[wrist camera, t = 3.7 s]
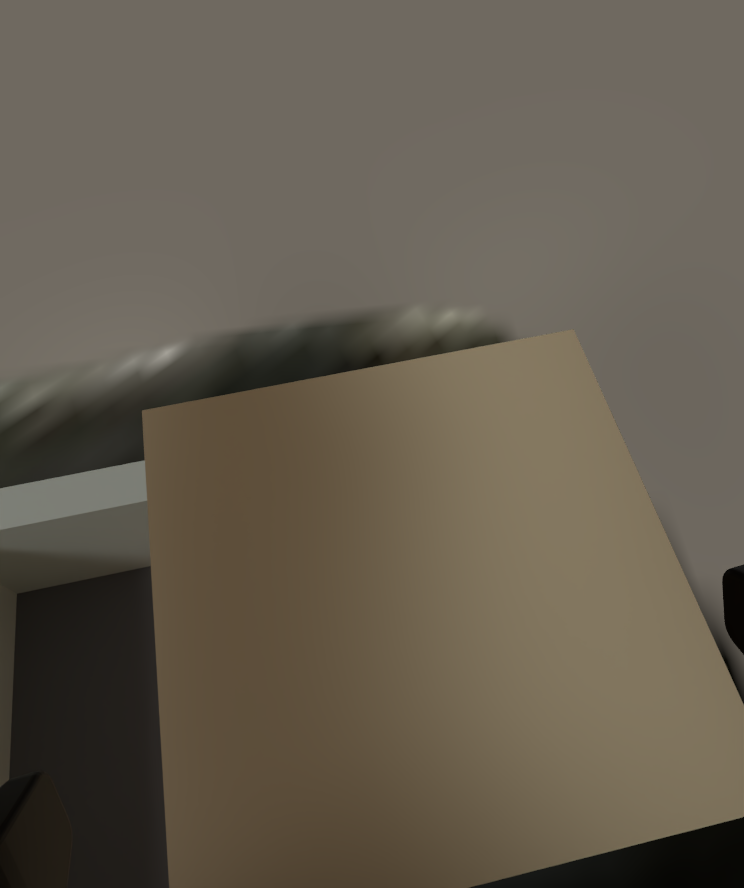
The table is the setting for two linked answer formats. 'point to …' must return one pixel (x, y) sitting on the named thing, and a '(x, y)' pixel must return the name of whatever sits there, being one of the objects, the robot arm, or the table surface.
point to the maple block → (423, 631)
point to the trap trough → (85, 667)
